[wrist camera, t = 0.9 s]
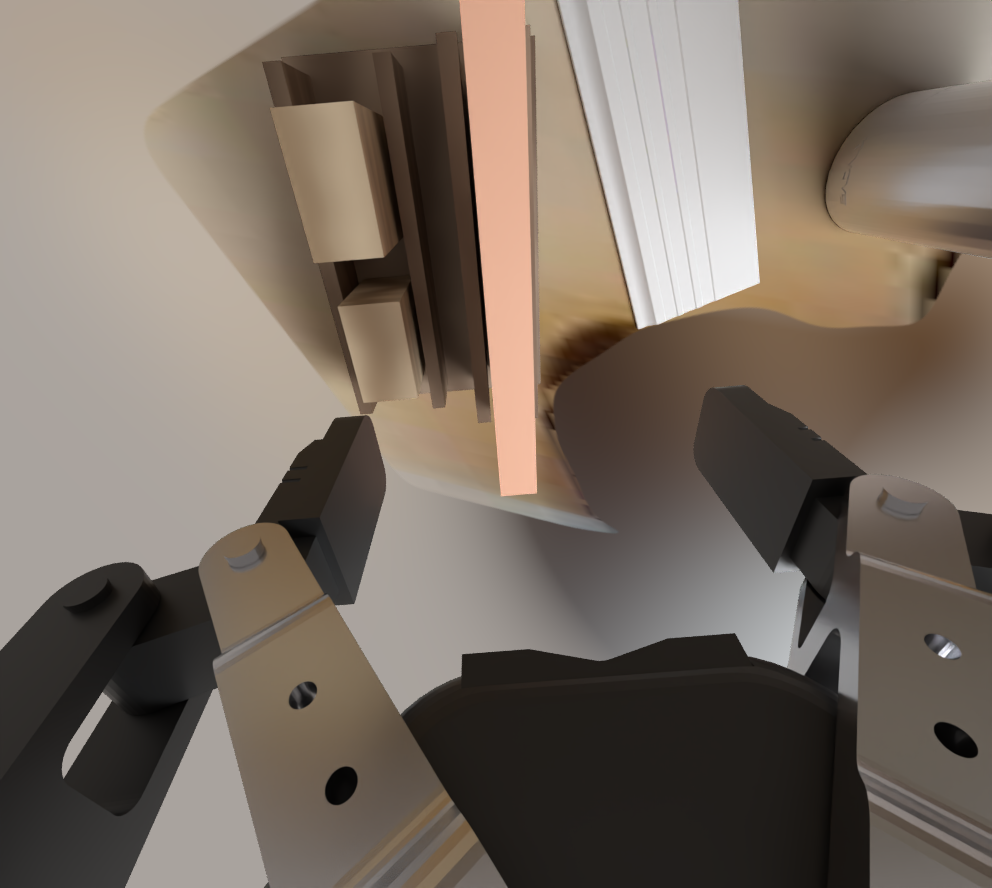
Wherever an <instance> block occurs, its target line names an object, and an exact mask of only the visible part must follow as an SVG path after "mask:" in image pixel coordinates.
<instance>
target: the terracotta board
mask: <svg viewBox="0 0 992 888" xmlns="http://www.w3.org/2000/svg"><path fill="white" fill-rule="evenodd" d="M459 2H460V14H461V26H462V37H463V49H464V61H465V73H466V85H467V97H468V109H469V121H470V133H471V144H472V156H473V168H474V180H475V192H476V204H477V216H478V228H479V239H480V251H481V263H482V275H483V287H484V299H485V311H486V323H487V334H488V346H489V358H490V370H491V382H492V394H493V406H494V418H495V429H496V441H497V453H498V465H499V477H500V489H501V496H509V495H521V494H533V493H537V479H536V439H535V399H534V359H533V318H532V278H531V238H530V198H529V157H528V117H527V77H526V37H525V0H459Z"/></svg>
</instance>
